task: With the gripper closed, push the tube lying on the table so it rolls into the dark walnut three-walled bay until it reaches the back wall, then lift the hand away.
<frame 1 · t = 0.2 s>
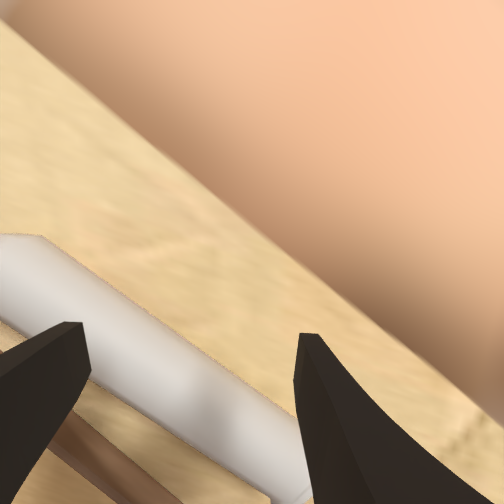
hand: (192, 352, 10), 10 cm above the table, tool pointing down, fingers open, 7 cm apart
bay: (114, 392, 22), on the table
tube: (165, 347, 22), on the table
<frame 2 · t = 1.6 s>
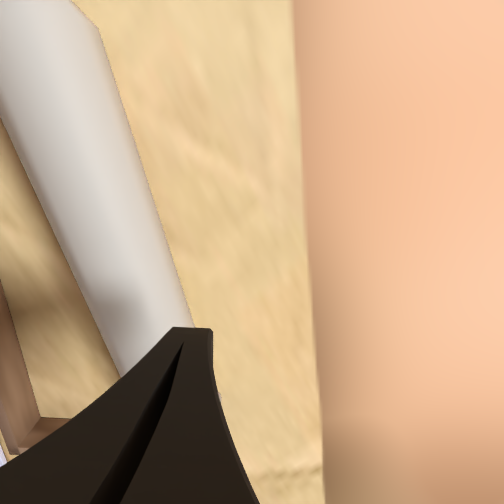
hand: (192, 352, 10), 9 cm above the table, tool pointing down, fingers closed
bay: (45, 241, 19), on the table
tube: (139, 242, 19), on the table
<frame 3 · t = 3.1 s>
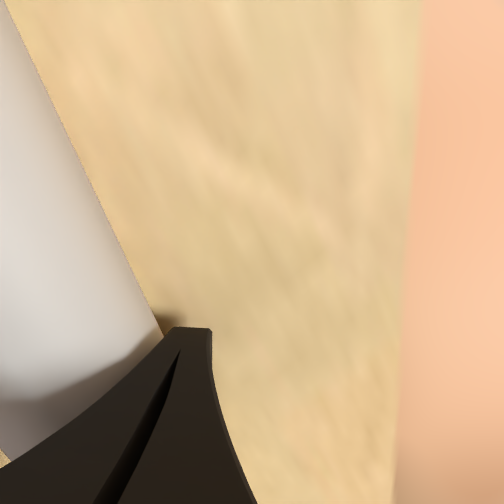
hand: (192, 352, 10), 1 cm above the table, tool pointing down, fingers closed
tube: (119, 316, 12), on the table, touching gripper
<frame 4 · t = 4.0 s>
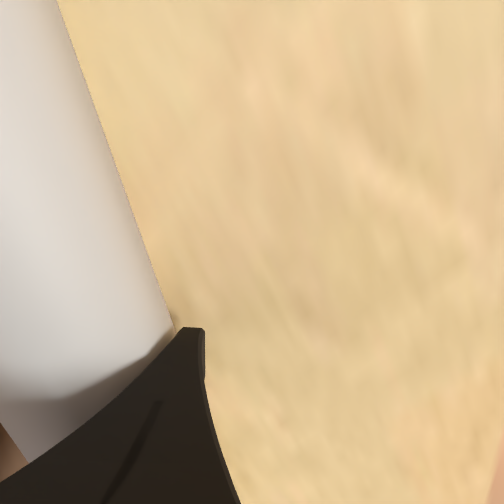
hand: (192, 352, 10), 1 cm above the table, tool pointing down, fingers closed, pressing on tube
bay: (99, 321, 11), on the table
tube: (142, 343, 12), on the table, touching bay, gripper
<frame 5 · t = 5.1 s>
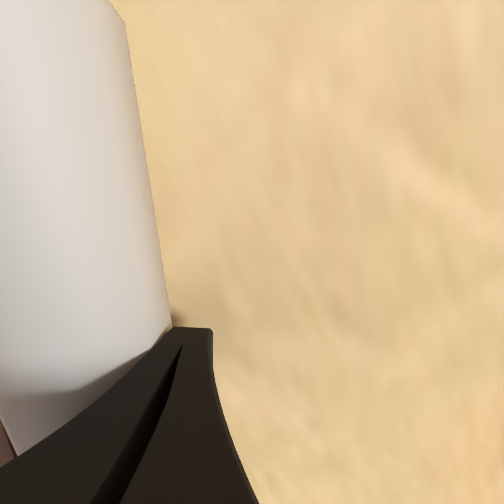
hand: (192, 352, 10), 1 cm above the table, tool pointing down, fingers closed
bay: (133, 323, 11), on the table
tube: (132, 351, 12), on the table
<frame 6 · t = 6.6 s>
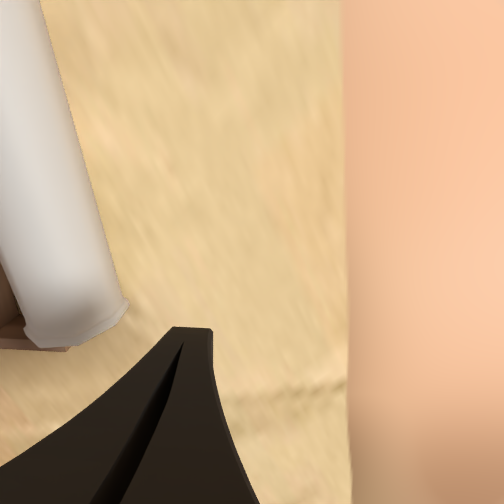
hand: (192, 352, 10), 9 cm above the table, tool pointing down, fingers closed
bay: (18, 57, 15), on the table
tube: (38, 96, 16), on the table
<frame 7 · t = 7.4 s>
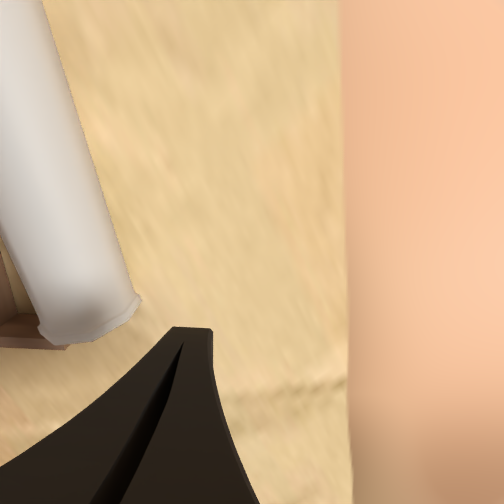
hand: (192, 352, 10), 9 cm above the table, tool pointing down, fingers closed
bay: (15, 54, 15), on the table
tube: (42, 93, 16), on the table
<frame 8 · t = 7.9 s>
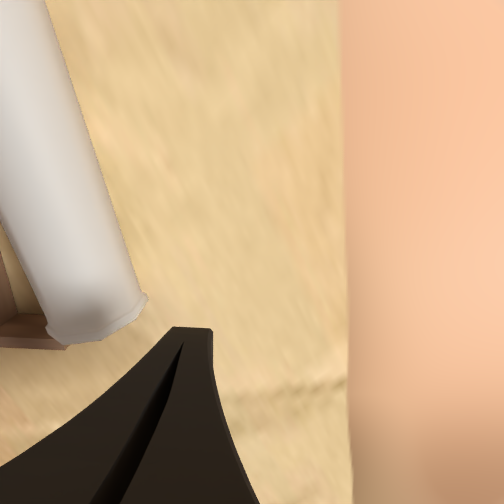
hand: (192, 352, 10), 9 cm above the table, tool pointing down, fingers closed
bay: (15, 54, 15), on the table
tube: (45, 93, 16), on the table
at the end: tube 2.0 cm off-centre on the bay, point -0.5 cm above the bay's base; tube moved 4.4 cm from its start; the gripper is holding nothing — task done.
